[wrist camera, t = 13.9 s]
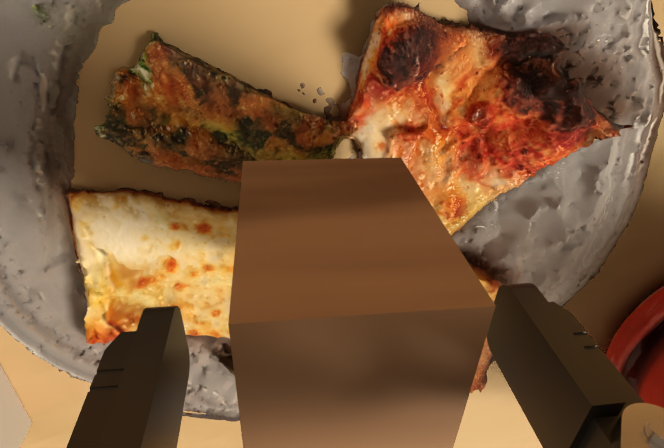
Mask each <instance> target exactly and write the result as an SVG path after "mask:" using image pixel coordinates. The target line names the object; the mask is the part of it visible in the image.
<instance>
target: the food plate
mask: <svg viewBox="0 0 664 448" xmlns="http://www.w3.org/2000/svg"><path fill="white" fill-rule="evenodd" d="M127 1H129V0H0V326H2V327H3V328H4V329H5V330H6V331H7V332H8V333H9V334H10V335H11V336H13V337H14V339H15V340H17V341H18V342H21V343H22V344H23V345H25V347H26V349H27V350H28V351H32V352H33V353H32V354H34V355H36V356H38V357H40V358H41V359H43V360H45V361H47V362H48V363H50V364H52V366H55V367H56V368H58V370H59V371H64V372H67V373H68V374H69V375H70V377H73V378H76V379H77V378H79V380H84V381H87V382H91V383H92V381H93V378H94V376H95V375H96V374H97V368H98V366H99V363H100V360H101V358H102V355H103V353H104V350H105V349H106V348H107V347H108V346H109V345H110V344H111V342H112V341H113V340H114V339H115V338H116V337H117V336H118V335H119V334H120V332H129V331H136V330H137V327H138V324H139V321H140V318H141V315H142V312H143V310H144V309H145V308H150V307H165V306H179V308H180V311H181V315H182V320H183V324H184V329H185V334H186V338H187V343H188V348H189V355H190V371H189V379H188V384H187V390H186V396H185V402H184V407H183V410H185V411H192V412H198V413H201V412H202V413H206V414H205V415H204V414H193V413H185V412H184V413H182V416H189V417H196V418H206V419H214V420H227V421H231V422H232V421H239V420H240V415H239V407H238V399H237V391H236V383H235V375H234V366H233V358H232V350H231V342H230V334H229V326H228V322H229V311H230V300H231V288H232V277H233V266H234V255H235V244H236V232H237V221H238V210H239V206H238V207H235V208H233V209H230V208H228V207H226V206H222V205H221V204H220V203H218V202H215V201H212V200H207V201H205V202H206V203H207V204H209V205H207V204H205V205H202V204H201V203H197V202H196V201H195V199H193V198H183V199H181V200H176V199H170V198H164V197H163V193H161V192H159V193H155V192H150V191H147V190H141V191H136V190H135V189H130V188H121V189H118V190H116V191H114V192H102V193H101V192H96V191H94V190H90V191H87V190H86V189H82V190H77V189H73V188H71V180H72V179H73V177H74V172H75V170H74V169H73V166H74V140H75V133H74V126H73V122H74V120H75V117H76V105H75V104H77V103H78V100H77V98H78V92H79V87H78V86H76V84H75V82H76V81H77V80H78V79H79V74H78V72H79V71H80V70H81V69H82V67H83V66H82V63H84V62H85V61H86V60H87V59H88V57H89V56H90V55H91V54H92V53H93V51H94V49H95V47H96V45H97V41H98V34H99V31H100V29H101V28H102V27H103V26H104V25H107V24H111V23H112V22H113V20H114V16H115V10H116V9H117V8H118V7H119V6H120V5H121V4H123V3H125V2H127ZM455 2H456V3H457V4H458V5H459V6H460V7H461V8H464V9H465V10H466V9H467V12H468V14H467V16H468V20H469V22H470V24H469V25H468V26H463V25H461V24H459V23H454V22H453V21H449V20H445V21H442V20H441V21H438V22H437V21H436V20H435V18H431V17H430V16H428V15H425V14H424V13H423V12H421V11H420V10H419V3H418V5H417V6H416V7H414V8H413V7H411V6H410V5H408V4H405V3H398V4H397V3H395V2H393V4H392V5H391V4H385V5H384V6H383V7H382V8H381V9H380V11H377V12H375V20H373V21H372V22H371V24H370V34H369V37H368V39H367V40H366V43H365V44H364V45H363V47H362V48H363V53H362V55H361V56H359V57H357V56H356V55H354V54H351V53H344V54H343V57H342V62H343V66H342V72H341V74H342V75H343V77H344V78H347V80H348V84H349V86H350V88H351V97H352V98H351V99H350V98H349V99H348V100H347V101H346V103H342V102H341V106H340V105H337V106H338V110H339V114H338V115H339V116H334V117H333V116H332V115H331V114H330V110H331V109H332V106H335V104H334V100H333V99H332V98H326V102H328V103H329V105H328V106H326V107H325V108H324V113H325V115H326V120H325V119H322V118H320V117H319V116H317V115H311V114H307V113H302V112H300V111H299V110H297V109H294V108H293V107H291V106H289V105H288V104H287V103H286V102H280V101H278V100H275V99H273V98H272V92H271V91H268V90H267V89H265V90H262V89H255V88H253V87H252V86H251V85H250V84H247V83H245V82H242V81H240V80H238V79H237V78H236V77H234V76H232V75H231V74H229V73H226V72H224V71H222V70H221V69H219V68H215V67H213V66H211V65H209V64H208V63H206V62H204V61H202V60H201V59H199V58H196V57H192V56H191V55H189V54H187V53H184V52H183V51H181V50H180V49H179V48H177V47H175V46H173V45H170V44H166V43H164V42H163V40H162V39H161V38H160V37H159V36H158V33H153V34H152V35H151V36H152V40H151V42H150V43H149V44H148V46H147V47H146V48H145V50H144V52H143V54H142V56H141V57H140V59H139V62H138V64H136V65H135V66H134V67H133V68H126V67H123V68H121V69H119V70H118V71H116V72H115V74H114V75H115V77H114V79H113V80H112V81H111V83H110V84H111V85H112V93H111V96H110V97H105V99H106V100H107V101H108V106H109V107H111V110H110V112H109V114H108V115H106V117H107V120H106V122H105V123H104V124H103V125H100V126H95V127H94V130H95V132H96V135H98V136H99V137H101V138H105V139H108V140H110V141H112V142H116V144H118V145H119V146H121V147H122V148H123V149H125V150H126V151H127V152H128V153H129V154H130V155H131V156H132V157H136V158H138V159H139V160H141V162H144V163H149V164H152V165H154V166H156V167H157V168H161V167H162V166H169V167H170V168H172V169H175V171H177V170H179V169H188V170H192V171H194V174H195V173H196V174H198V175H199V176H209V177H211V178H213V177H215V178H218V179H220V180H224V181H233V182H241V176H242V165H243V161H267V160H311V159H332V158H333V156H334V154H335V150H336V148H337V147H338V146H339V144H340V142H341V141H342V140H343V139H346V138H347V139H352V140H353V141H354V143H355V145H356V147H357V148H358V149H361V150H360V151H359V153H358V158H399V157H401V159H402V160H403V162H404V163H405V165H406V166H407V168H408V170H409V171H410V173H411V174H412V176H413V177H414V179H415V180H416V182H417V184H418V185H419V187H420V188H421V190H422V191H423V193H424V195H425V196H426V198H427V199H428V201H429V202H430V204H431V205H432V207H433V209H434V210H435V212H436V213H437V215H438V216H439V218H440V220H441V221H442V223H443V224H444V226H445V227H446V229H447V230H448V232H449V234H450V235H451V237H452V238H453V240H454V241H455V243H456V245H457V246H458V248H459V249H460V251H461V252H462V254H463V255H464V257H465V259H466V260H467V262H468V263H469V265H470V266H471V268H472V270H473V271H474V273H475V274H476V276H477V277H478V279H479V280H480V282H481V284H482V285H483V287H484V288H485V290H486V291H487V293H488V295H489V296H490V298H491V299H492V301H493V302H494V301H495V298H496V294H497V291H498V289H499V287H500V286H501V285H506V284H521V283H532V284H534V285H535V286H536V287H537V288H538V289H539V291H540V292H541V293H542V294H543V296H544V297H545V298H546V300H547V301H548V302H555V303H557V304H558V305H560V306H561V307H562V306H563V305H565V304H566V303H567V302H568V301H569V300H570V299H571V298H572V297H573V296H574V295H575V294H576V293H577V292H578V291H580V290H581V289H582V288H583V287H584V286H585V285H586V284H587V283H588V282H589V280H591V279H592V278H594V276H595V275H596V274H597V273H598V272H600V266H601V265H602V264H604V263H605V260H606V258H607V256H608V255H609V253H610V252H611V251H612V249H613V248H614V247H615V246H616V243H617V241H618V239H619V238H620V236H621V235H622V233H623V231H624V230H625V228H626V227H628V223H629V221H630V219H631V217H632V214H633V212H634V210H635V208H636V206H637V203H638V200H639V197H640V194H641V192H642V190H643V187H644V181H645V178H646V176H647V171H648V167H649V162H650V158H651V154H652V151H653V147H654V144H655V141H656V139H657V136H658V135H657V134H658V133H657V132H658V127H659V125H660V122H661V119H662V117H663V112H664V42H663V37H659V36H658V35H659V34H660V33H661V32H660V29H658V28H657V27H658V24H657V22H656V21H655V20H654V18H653V16H654V11H653V6H652V1H651V0H455ZM475 5H476V6H477V7H474V6H475ZM659 38H660V39H661V42H658V40H659ZM300 86H301V88H304V87H305V84H304V83H301V84H300ZM298 91H300V90H299V89H298ZM317 92H318V94H319V95H324V94H325V93H324V92H323V91H322V89H321V88H318V89H317ZM302 93H303V92H302ZM303 94H304V93H303ZM315 102H316V99H313V103H315ZM352 153H353V152H352ZM349 159H353V156H350V158H349ZM59 161H60V162H59ZM62 183H63V184H62ZM493 198H495V199H497V201H495V202H493V201H492V202H490V203H489V204H488V205H487V202H488V201H490V200H491V199H493ZM482 207H483V208H482ZM78 265H79V267H80V273H81V274H82V275H83V276H82V275H81V274H79V273H78V271H77V266H78ZM493 361H495V359H494V357H493V355H492V353H491V351H490V349H489V346H488V342H487V337H486V340H485V343H484V347H483V350H482V353H481V356H480V360H479V363H478V366H477V370H476V373H475V376H474V380H473V383H472V386H471V390H470V393H473V391H474V390H477V389H479V391H480V392H481V391H482V389H483V388H484V387H485V385H486V382H487V375H486V373H487V370H488V368H489V366H490V364H491V363H492V362H493Z"/></svg>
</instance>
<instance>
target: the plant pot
mask: <svg viewBox="0 0 664 448" xmlns="http://www.w3.org/2000/svg"><path fill="white" fill-rule="evenodd" d="M606 356H607V357H608V358H609V360H610V361H611V362H612V363H613V365H614V366H615V367H616V368H617V369H618V371H619V372H620V373H621V374H622V376H623V377H624V378H625V379H626V380H627V382H628V383H629V384H630V385H631V387H632V388H633V389H634V390H635V391H636V393H637V394H638V395H639V396H640V398H641V399H642V400H643V401H644V402H645V403H648V404H653V405H656V406H659V407H662V408H664V286H663V287H661V288H660V289H656V290H654V291H653V292H652V293H650V294H649V295H648V298H647V299H646V300H644V301H643V302H642V303H641V304H640V305H639V306H638V307H637V308H636V309H635V310H634V311H633V312H632V313H631V314H630V315H629V316H628V318H627V319H626V320H625V321H624V322H623V324H622V325H621V326H620V328H619V329H618V330H617V332H616V334H615V335H614V337H613V339H612V341H611V343H610V346H609V348H608V351H607V354H606Z"/></svg>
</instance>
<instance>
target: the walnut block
mask: <svg viewBox="0 0 664 448" xmlns="http://www.w3.org/2000/svg"><path fill="white" fill-rule="evenodd" d="M495 307H496V305H495V304H494V302H493V301H492V299H491V298H490V296H489V295H488V293H487V291H486V290H485V288H484V287H483V285H482V284H481V282H480V280H479V279H478V277H477V276H476V274H475V273H474V271H473V270H472V268H471V266H470V265H469V263H468V262H467V260H466V259H465V257H464V255H463V254H462V252H461V251H460V249H459V248H458V246H457V245H456V243H455V241H454V240H453V238H452V237H451V235H450V234H449V232H448V230H447V229H446V227H445V226H444V224H443V223H442V221H441V220H440V218H439V216H438V215H437V213H436V212H435V210H434V209H433V207H432V205H431V204H430V202H429V201H428V199H427V198H426V196H425V195H424V193H423V191H422V190H421V188H420V187H419V185H418V184H417V182H416V180H415V179H414V177H413V176H412V174H411V173H410V171H409V170H408V168H407V166H406V165H405V163H404V162H403V160H402V159H401V157H399V158H355V159H311V160H267V161H243V165H242V176H241V187H240V199H239V210H238V221H237V232H236V244H235V255H234V266H233V277H232V288H231V300H230V311H229V322H228V326H229V334H230V342H231V350H232V358H233V366H234V375H235V383H236V391H237V399H238V407H239V415H240V423H241V432H242V440H243V448H453V446H454V443H455V439H456V436H457V433H458V429H459V426H460V423H461V419H462V416H463V413H464V409H465V406H466V403H467V400H468V396H469V393H470V390H471V386H472V383H473V380H474V376H475V373H476V370H477V366H478V363H479V360H480V356H481V353H482V350H483V347H484V343H485V340H486V337H487V333H488V330H489V327H490V323H491V320H492V317H493V313H494V310H495Z"/></svg>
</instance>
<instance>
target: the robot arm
mask: <svg viewBox="0 0 664 448" xmlns="http://www.w3.org/2000/svg"><path fill="white" fill-rule="evenodd" d="M494 304H495V305H496V307H495V310H494V313H493V317H492V320H491V323H490V327H489V330H488V333H487V342H488V346H489V349H490V351H491V353H492V355H493V357H494V359H495V360H496V362H497V364H498V366H499V368H500V370H501V371H502V373H503V375H504V377H505V379H506V381H507V382H508V384H509V386H510V388H511V390H512V392H513V393H514V395H515V397H516V399H517V401H518V403H519V404H520V406H521V408H522V410H523V412H524V414H525V415H526V417H527V419H528V421H529V423H530V425H531V426H532V428H533V430H534V432H535V434H536V436H537V437H538V439H539V441H540V443H541V445H542V447H543V448H664V408H662V407H659V406H656V405H653V404H648V403H645V402H644V401H643V400H642V399H641V398H640V396H639V395H638V394H637V393H636V391H635V390H634V389H633V388H632V387H631V385H630V384H629V383H628V382H627V380H626V379H625V378H624V377H623V376H622V374H621V373H620V372H619V371H618V369H617V368H616V367H615V366H614V365H613V363H612V362H611V361H610V360H609V358H608V357H607V356H606V355H605V353H604V352H603V351H602V350H601V349H598V345H597V344H596V342H595V341H594V340H593V339H592V338H591V336H590V335H587V331H586V330H585V329H584V328H583V327H582V325H581V324H580V323H579V322H578V320H577V319H576V318H575V317H574V316H573V315H572V314H571V313H569V312H568V311H567V310H565V309H564V308H562V307H561V306H560V305H558V304H557V303H555V302H548V301H547V300H546V298H545V297H544V296H543V294H542V293H541V292H540V291H539V289H538V288H537V287H536V286H535V285H534V284H532V283H521V284H506V285H501V286H500V287H499V289H498V291H497V294H496V298H495V301H494ZM189 371H190V355H189V348H188V343H187V338H186V334H185V329H184V324H183V320H182V315H181V311H180V308H179V306H165V307H150V308H145V309H144V310H143V312H142V315H141V318H140V321H139V324H138V327H137V330H136V331H129V332H120V334H119V335H118V336H117V337H116V338H115V339H114V340H113V341H112V342H111V344H110V345H109V346H108V347H107V348H106V349H105V350H104V353H103V355H102V358H101V360H100V363H99V366H98V368H97V374H96V375H95V376H94V378H93V381H92V384H91V386H90V392H88V394H87V396H86V399H85V402H84V404H83V407H82V409H81V412H80V414H79V417H78V420H77V422H76V425H75V427H74V430H73V432H72V435H71V438H70V440H69V443H68V445H67V448H177V442H178V436H179V431H180V425H181V419H182V413H183V407H184V402H185V396H186V390H187V384H188V379H189Z"/></svg>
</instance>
